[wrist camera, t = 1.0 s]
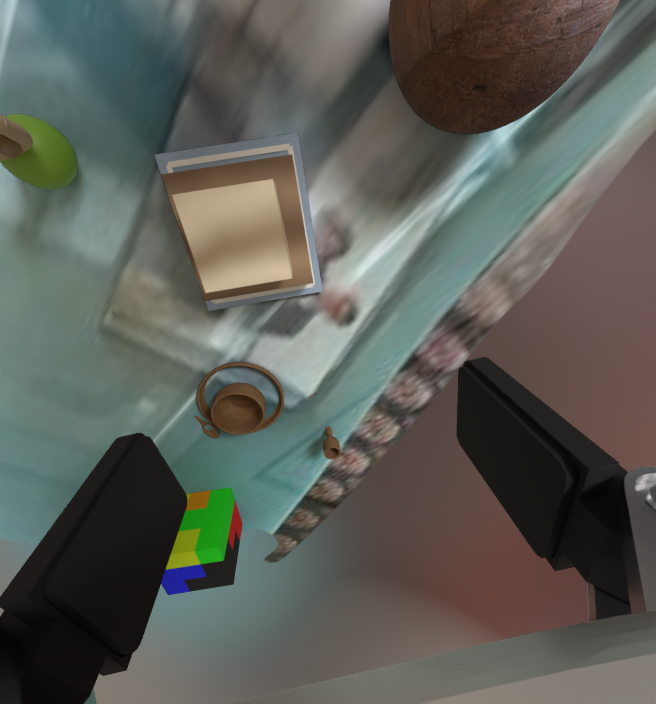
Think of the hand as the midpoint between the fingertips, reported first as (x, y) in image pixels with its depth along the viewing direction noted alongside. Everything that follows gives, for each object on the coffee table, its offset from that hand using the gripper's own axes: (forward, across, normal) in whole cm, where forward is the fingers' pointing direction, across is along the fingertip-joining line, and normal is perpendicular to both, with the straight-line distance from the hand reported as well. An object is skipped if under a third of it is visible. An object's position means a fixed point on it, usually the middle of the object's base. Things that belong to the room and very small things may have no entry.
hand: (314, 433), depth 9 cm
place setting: (+30, +10, +21) cm, 38 cm away
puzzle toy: (+30, +25, +39) cm, 55 cm away
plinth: (+29, +4, -4) cm, 29 cm away
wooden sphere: (+30, -18, -16) cm, 38 cm away
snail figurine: (+30, +20, -14) cm, 38 cm away
